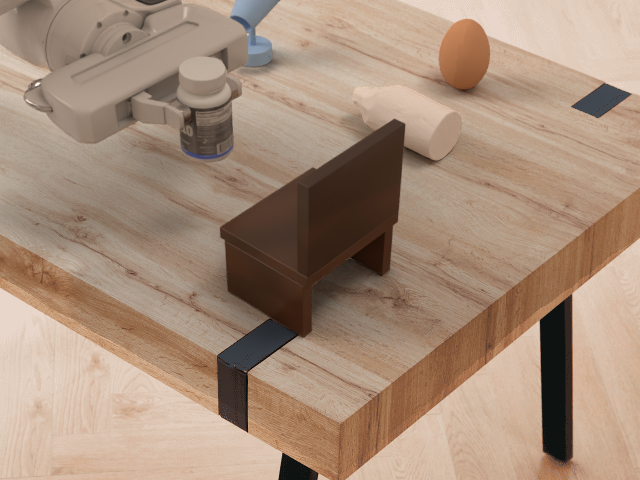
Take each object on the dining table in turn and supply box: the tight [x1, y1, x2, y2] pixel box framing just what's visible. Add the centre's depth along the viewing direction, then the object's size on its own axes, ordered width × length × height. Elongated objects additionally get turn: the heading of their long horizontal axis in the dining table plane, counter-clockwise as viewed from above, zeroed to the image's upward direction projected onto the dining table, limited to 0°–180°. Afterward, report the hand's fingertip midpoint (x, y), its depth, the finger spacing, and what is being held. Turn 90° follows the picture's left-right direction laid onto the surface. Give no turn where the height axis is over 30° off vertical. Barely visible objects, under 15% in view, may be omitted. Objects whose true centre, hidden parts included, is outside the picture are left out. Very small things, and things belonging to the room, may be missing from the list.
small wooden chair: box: [219, 119, 406, 338], centre depth 92 cm, size 10×12×16 cm
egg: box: [438, 18, 491, 90], centre depth 121 cm, size 6×6×8 cm
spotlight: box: [229, 0, 281, 68], centre depth 123 cm, size 5×10×7 cm
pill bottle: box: [176, 57, 235, 164], centre depth 94 cm, size 5×5×8 cm
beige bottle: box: [352, 84, 463, 161], centre depth 113 cm, size 6×12×6 cm, turn 51°
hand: (212, 105), depth 93 cm, fingers closed on pill bottle, 5 cm apart
